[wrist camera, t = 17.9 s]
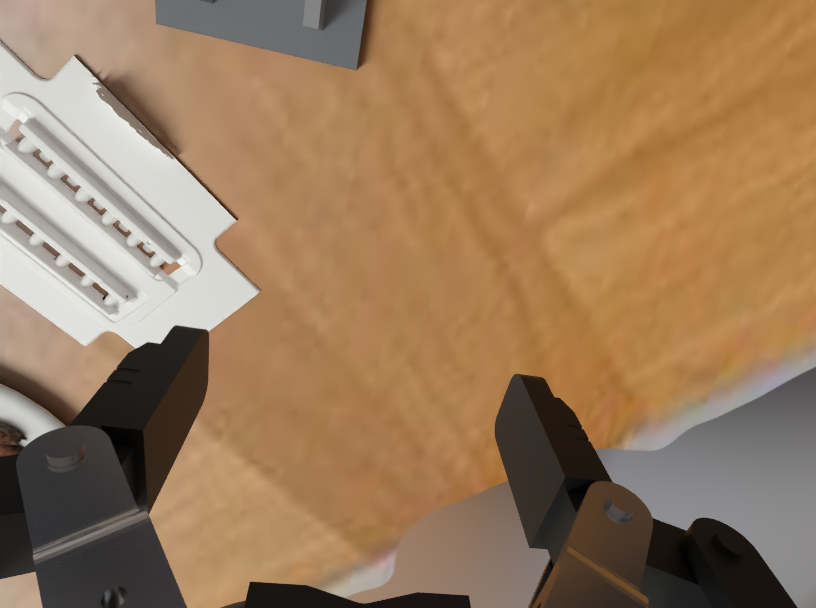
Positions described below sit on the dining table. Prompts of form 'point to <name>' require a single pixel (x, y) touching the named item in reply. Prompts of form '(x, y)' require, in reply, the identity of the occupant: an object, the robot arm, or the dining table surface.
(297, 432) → the dining table surface
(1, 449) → the plated food
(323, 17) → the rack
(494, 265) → the dining table surface
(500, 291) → the dining table surface
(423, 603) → the robot arm
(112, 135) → the tray
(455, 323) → the dining table surface
